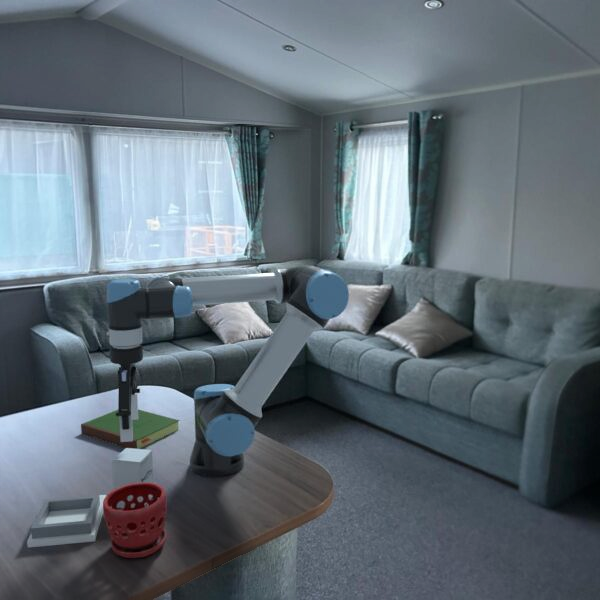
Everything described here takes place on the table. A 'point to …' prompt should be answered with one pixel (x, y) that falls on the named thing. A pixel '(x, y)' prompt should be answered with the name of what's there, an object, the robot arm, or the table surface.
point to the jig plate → (67, 521)
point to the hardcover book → (143, 428)
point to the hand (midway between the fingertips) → (129, 429)
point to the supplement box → (132, 470)
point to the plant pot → (136, 519)
